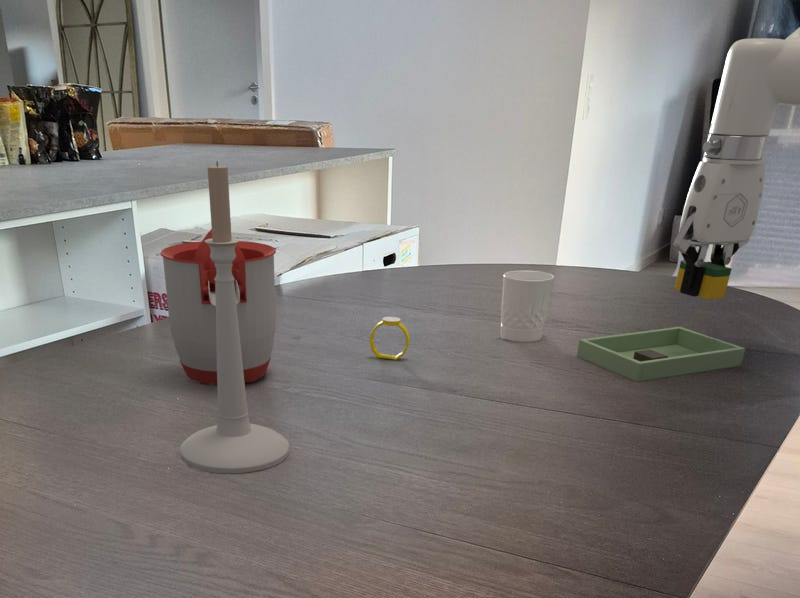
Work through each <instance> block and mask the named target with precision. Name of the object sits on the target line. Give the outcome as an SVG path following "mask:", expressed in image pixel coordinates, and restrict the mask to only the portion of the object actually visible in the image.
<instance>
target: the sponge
mask: <svg viewBox="0 0 800 598" xmlns="http://www.w3.org/2000/svg"><path fill="white" fill-rule="evenodd" d="M708 262H709V261H704V263H703V265H702V267H705V271H704V275H703V279H702V283H701V287H700V291H699V294H698V296H697V297H698V298H702V299H705V300H717V299H724V298H725V295H726V293H727V288H728V285H729V281H730V276H731V273H732V268H731V267H727V266H725V267H724V266H720V265H716V264H712V263H708ZM685 267H686V264H684V262H683V260H680V262H679V267H678V271H677V275H676V280H675V284H674V288H673V290H675V291H678V292H680V288H681V284H682V280H683V276H684V272H685Z"/></svg>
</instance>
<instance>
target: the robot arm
mask: <svg viewBox="0 0 800 598" xmlns="http://www.w3.org/2000/svg"><path fill="white" fill-rule="evenodd" d="M778 105H782V106H791V107H792V106H793V107H799V108H800V26H799V27H798V28H797V29H795V31H793V32H792V33H791V34H790V35H788V36H787V37H786V38H785V39H782V38H771V37H770V38H769V37H768V38H766V37H765V38H763V37H761V38H760V37H758V38H757V37H756V38H755V37H753V38H743V39H739V40H736V41H735V42H733V44H732V45H731V46H730V48H729V50H728V52H727V55H726V58H725V63H724V66H723V71H722V75H721V80H720V84H719V89H718V93H717V96H716V101H715V105H714V110H713V114H712V118H711V123H710V126H709V132H708V134H707V140H706V141H705V142H704V143H703V145H702V151H703V157H702V161H699V163H698V165H697V167H696V171H695V173H694V176H693V178H692V182H691V184H690V187H689V190H688V192H687V196H686V200H685V203H684V205H683V210H682V215H681V218H680V223H679V231H678V233H677V235H676V237H675V238H674V240H673V242H672V246H673V248H674V249H676V250H677V251H678V252H680V254H681V256H682V258H683V260H682V261H683V262H684V264H686V267H685V272H684V276H683V280H682V284H681V288H680V291H679V292H680V294H683V295H686V296H689V297H698V294H699V291H700V287H701V283H702V279H703V275H704V271H705V267H702V265H703V263H704V262H705V259H706V256H707V253H708V250H709V247H710V245H712V246H711V252H710V258H709V260H710V261H707V262H708V263H712V264H716V265H720V266H724V267H726V266H728V265H729V264H730V263H731V261H732V257H733V256H734V255H735V254H736V253H737V252H738V250H739V249H741V248H742V247H744V246H745V245H747V244H748V243H749V242H750V239H751V237H753V234H754V231H755V228H756V224H757V220H758V216H759V211H760V208H761V202H762V197H763V192H764V185H765V176H766V162H764V161H763V160H764V156H765V153H766V148H767V144H768V141H769V137H770V133H771V129H772V126H773V122H774V118H775V115H776V111H777V108H778ZM697 247H698V250H697Z"/></svg>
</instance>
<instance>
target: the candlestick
mask: <svg viewBox="0 0 800 598" xmlns="http://www.w3.org/2000/svg"><path fill="white" fill-rule="evenodd" d="M218 163H219V162H218V160H217V161H216V165H209V166H207V180H208V195H209V196H208V197H209V208H210V211H209V212H210V224H211V225H210V226H211V229H212V239H207V240H205V243H207V244H208V245H209V247H210V249H211V254H210V258H211V259H212V260H213V261H214V262H215V267H216V271H217V274H216V277H215V279H214V280H215V292H216V342H217V384H216V386H217V387H216V388H217V413H216V415H217V422H216V424H215V425H211V426H208V427H205V428H202V429H200V430H197V431H196V432H194V433H193V434H191V435H189V436H188V437H187V438H186V439H185V440H184V441H183V442H182V444H181V445H180V448H179V455H180V459H181V460H182V461H183V462H184V464H186V465H187V466H190V467H192V468H193V469H196V470H200V471H202V472H209V473H215V474H216V473H217V474H246V473H253V472H258V471H262V470H267V469H270V468H272V467H275V466H277V465H278V464H280V463H282V462H284V460H286V459H287V458H288V456H289V455H290V443H289V441H288V440H287V438H285V437H284V436H283V435H282V434H280V433H279V432H278V431H276V430H275V429H272V428H269V427H267V426H264V425H260V424H255V423H250V420H249V410H248V402H247V394H246V384H245V383H246V382H245V383H244V373H243V364H242V354H241V344H240V335H239V325H238V315H237V306H236V296H235V286H234V280H235V279H234V277H233V275H232V272H231V269H232V261H233V260H234V259H235V258H236V254H235V246H236V245H237V243H238V242H239V241H241V240H240V239H238V238H234V237H232V221H231V220H232V219H231V204H230V186H229V185H230V184H229V168H228V166H227V165H219V164H218Z"/></svg>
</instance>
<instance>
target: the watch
mask: <svg viewBox="0 0 800 598" xmlns="http://www.w3.org/2000/svg"><path fill="white" fill-rule="evenodd" d="M401 321H402V320H401V318H400V317H396V316H384V317H382V319H381V321H379V322H378V323H377V324H376V325H375V327H374V328H373V329H372V330H371V332H370V335H369V336H370V337H369V347H370V349H371V352H372V353H373V355H375V356H376V358H378V359H386V360H393V361H397V360H399V359H400V358H402V357H403V356H404V355H405V354H406V352H407V350H408V348H409V347H410V333H409V331H408V328H407V327H406V325H404V324H403V322H401ZM382 326H389V327H398V328H399V329H400V330H401V331H402V333H403V335H404V337H405V347H404V348H403V350H402V351H401V352H400V353H398V354H397V355H395V354H394V355H393V354H386V353H381V352H380V351H379V349H378V348H376V345H375V342H374V337H375V333H376V331H377V329H378V328H380V327H382Z"/></svg>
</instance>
